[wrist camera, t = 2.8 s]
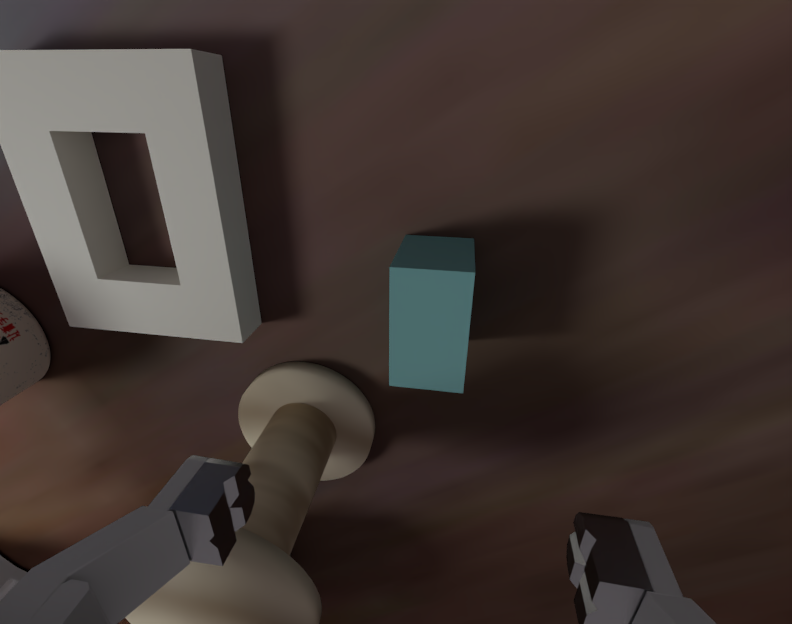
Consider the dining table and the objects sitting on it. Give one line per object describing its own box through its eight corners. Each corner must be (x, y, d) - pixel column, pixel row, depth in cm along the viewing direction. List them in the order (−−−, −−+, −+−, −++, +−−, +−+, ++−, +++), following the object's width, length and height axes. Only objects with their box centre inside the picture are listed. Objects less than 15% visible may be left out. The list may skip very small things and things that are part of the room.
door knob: (376, 475, 30) (320, 692, 19) (256, 458, 31) (138, 653, 20) (374, 368, 26) (302, 565, 15) (237, 355, 27) (76, 526, 16)
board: (261, 323, 25) (242, 343, 23) (101, 309, 27) (69, 326, 25) (221, 54, 19) (191, 48, 17) (16, 56, 21) (-36, 50, 19)
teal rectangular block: (464, 340, 24) (463, 393, 19) (403, 334, 24) (389, 385, 20) (474, 238, 21) (475, 272, 17) (406, 234, 22) (389, 267, 17)
